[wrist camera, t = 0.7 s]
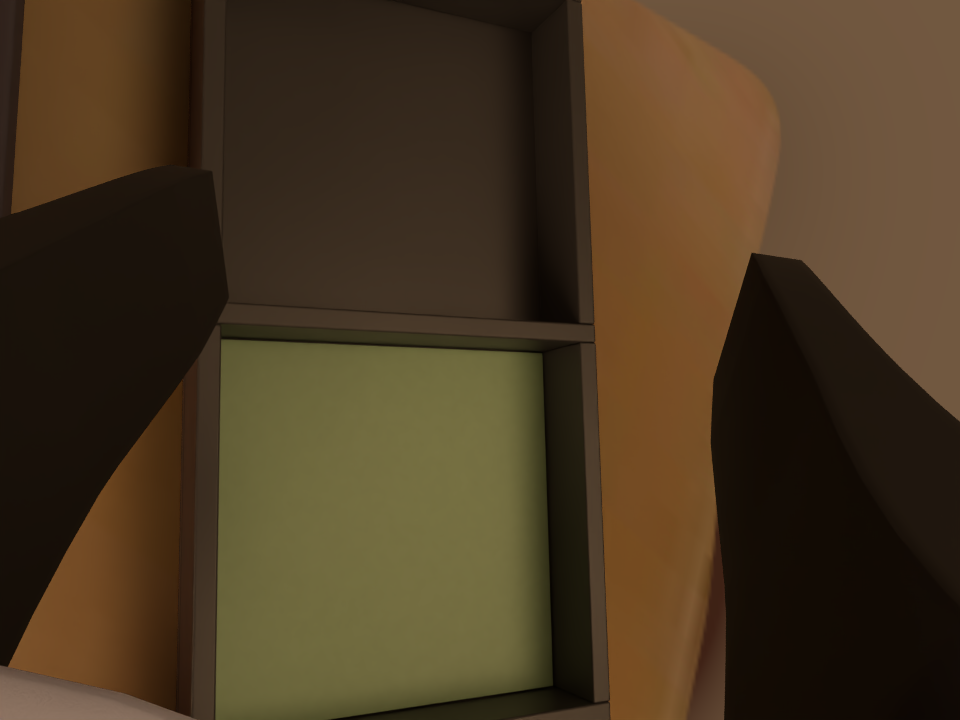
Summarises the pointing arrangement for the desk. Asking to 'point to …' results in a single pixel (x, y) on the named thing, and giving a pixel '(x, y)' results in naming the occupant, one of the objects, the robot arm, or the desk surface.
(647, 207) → the desk surface
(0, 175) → the red and cream box
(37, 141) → the desk surface
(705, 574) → the desk surface
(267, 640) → the organizer
